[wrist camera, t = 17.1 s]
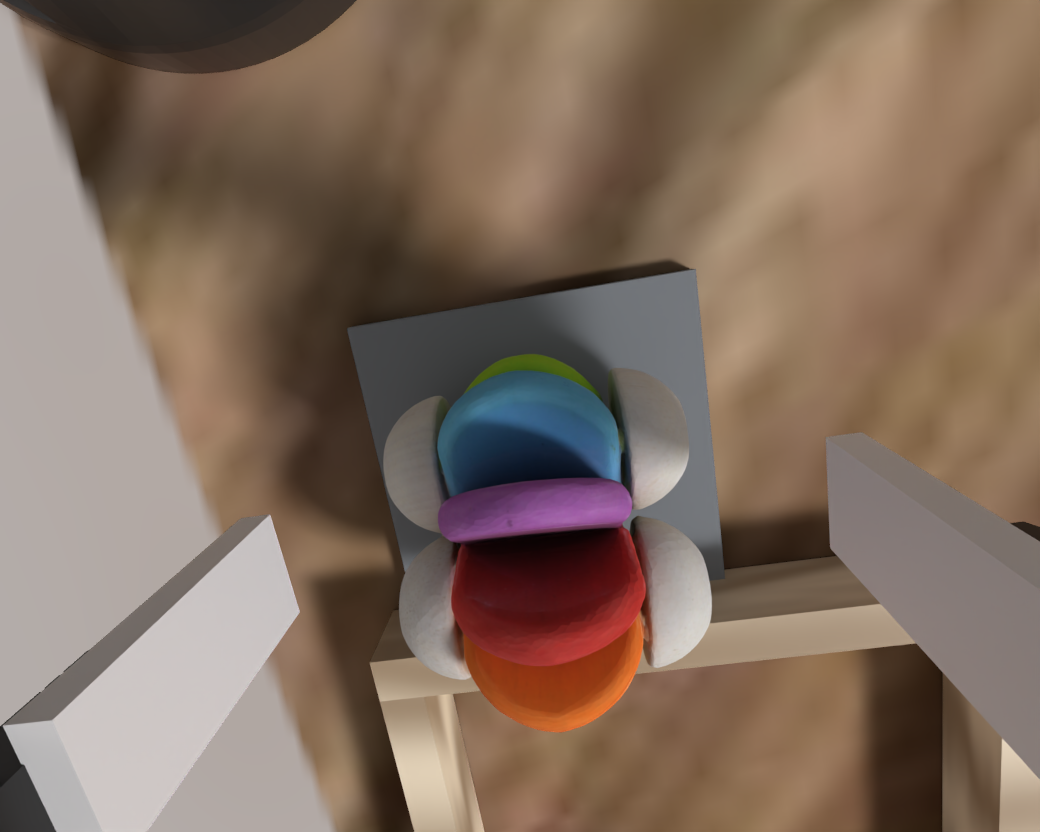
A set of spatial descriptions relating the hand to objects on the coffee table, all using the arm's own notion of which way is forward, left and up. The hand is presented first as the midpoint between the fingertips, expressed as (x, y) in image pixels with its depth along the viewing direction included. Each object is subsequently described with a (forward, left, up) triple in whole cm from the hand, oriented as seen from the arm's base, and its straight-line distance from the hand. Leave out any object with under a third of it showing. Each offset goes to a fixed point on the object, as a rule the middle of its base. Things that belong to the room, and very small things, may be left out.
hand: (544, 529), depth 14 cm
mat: (0, 0, -6) cm, 7 cm away
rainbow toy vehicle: (+2, 0, -5) cm, 5 cm away
